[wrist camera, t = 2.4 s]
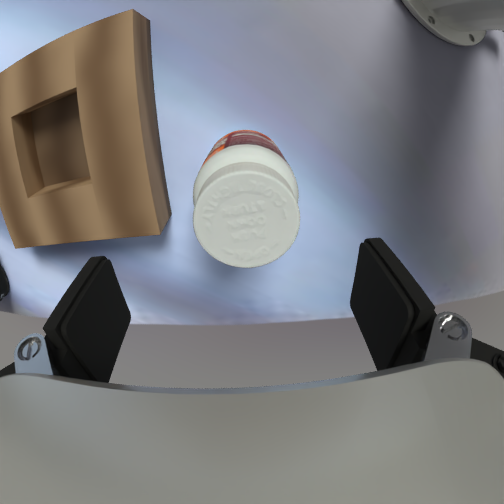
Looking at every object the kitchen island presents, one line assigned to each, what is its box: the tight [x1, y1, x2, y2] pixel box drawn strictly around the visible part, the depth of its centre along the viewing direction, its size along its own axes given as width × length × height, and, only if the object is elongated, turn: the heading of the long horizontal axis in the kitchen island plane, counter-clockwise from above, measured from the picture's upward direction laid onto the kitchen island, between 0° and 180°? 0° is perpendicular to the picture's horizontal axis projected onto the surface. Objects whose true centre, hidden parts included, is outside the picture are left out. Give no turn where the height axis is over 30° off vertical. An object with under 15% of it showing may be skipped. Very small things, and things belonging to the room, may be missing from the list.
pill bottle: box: [193, 130, 300, 268], centre depth 18 cm, size 6×6×11 cm
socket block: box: [0, 9, 172, 249], centre depth 18 cm, size 18×18×4 cm
